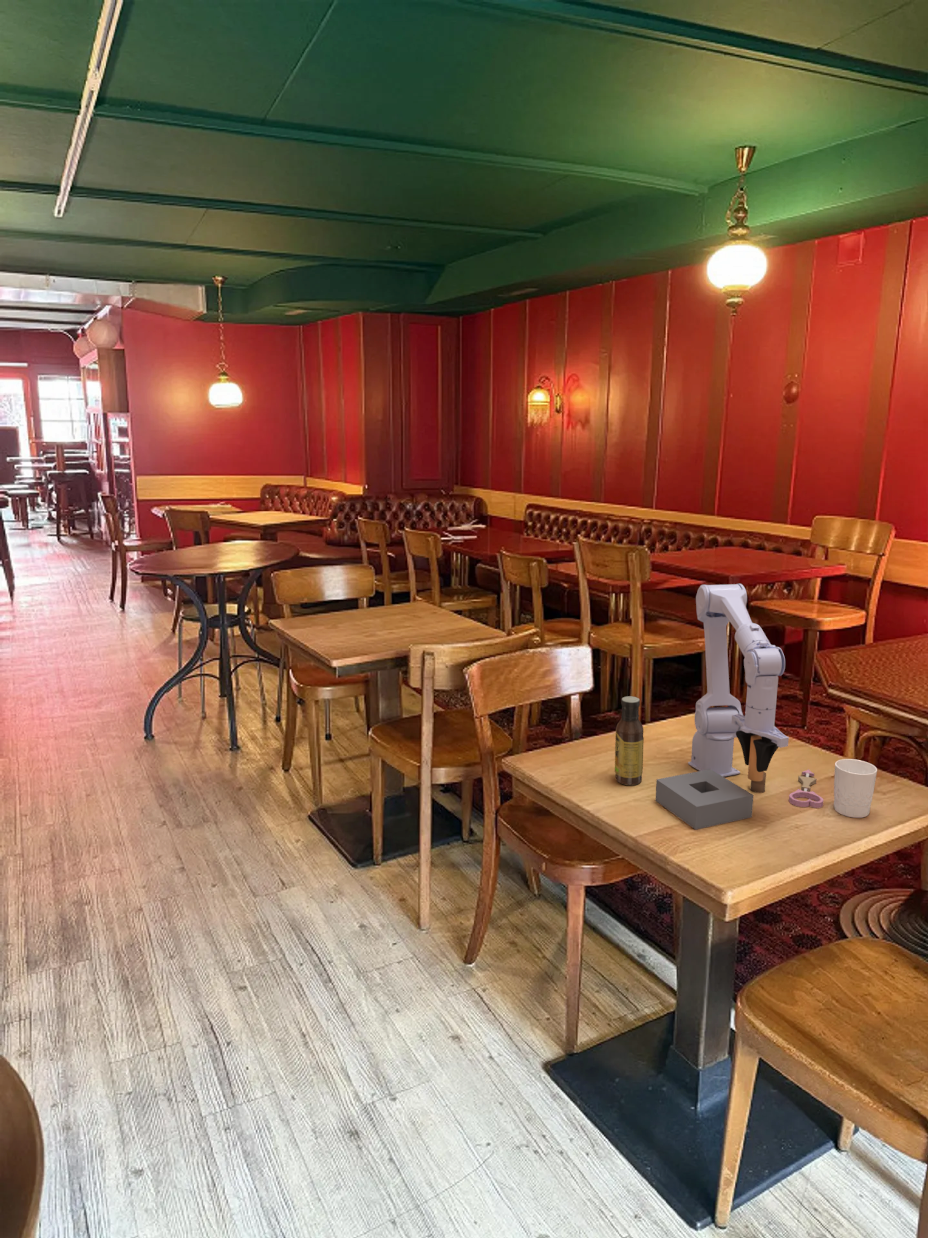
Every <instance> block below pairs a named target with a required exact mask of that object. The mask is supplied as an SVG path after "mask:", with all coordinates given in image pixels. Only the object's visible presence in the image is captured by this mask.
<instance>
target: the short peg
mask: <svg viewBox="0 0 928 1238" xmlns="http://www.w3.org/2000/svg"><path fill="white" fill-rule="evenodd" d="M766 778H767V773H766V771H764V773H763V780H762V781H752V780H750V791H752V792H753V793H756V794H757V793H758V794H762V793H765V791H766V780H767V779H766Z"/></svg>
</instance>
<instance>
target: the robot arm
mask: <svg viewBox="0 0 928 1238" xmlns="http://www.w3.org/2000/svg"><path fill="white" fill-rule="evenodd" d="M747 603H748V594H747V590H746V588H745V586H744V585H743V584H742V583H736V584H735V583H733V584H732V583H731V584H701V585H700V586H699V587H698V589H697V593H696V595H695V604H696V605H695V606H696V607H695V608H696V617H697V620H698V621H700V622H701V623H703V630H704V644H705V645H704V650H705V667H706V670H705V671H706V686H707V688H706V689H707V690H706V691H707V692H706V694H704V695H702V696H701V698H699V699H698V700H697V701H696V703H695V713H694V726H695V729H696V731H695V733H694V734H693V737H692V739H691V740H692V741H691V755H690V758H691V759H690V761H688V762H687V765H689V766H690V767H692V768H694V769H695V770H697V771H703V770H708V769H711V770H713V771H714V772H716V773H718V774H719V775H721V776H723V777H724V778H726V777H729V776H734V775H735V776H736V775H739V774H741V771H740V770H738V768H737V769H736V768H735V767H733V759H734V757H733V756H734V746H735V745H734V744H735V743H734V742H735V738H737V739H738V742H739V745H740V747H741V751H742V755H743V760H744V764H745V766H749V755H750V742H751V736H753V735H759V736H761V737H762V739H757V740H753V743H754V746H755V749H756V757H757V759H756V767H757V771H758V772H763V771H764V772H767V771H768V769H769V767H770V763H771V761H772V758H773V757H774V754H775V753H776V752H777V750H778V748H785V747H789V740H790V737H789V736H787V735H785V734H784V733H783V732H782V731H780V730H779V728H777V727H776V726H775V721H776V708H777V695H778V687H779V685H778V684H779V677H781V676H782V675H783V674H784V672H785V671H786V670H785V669H786V658H785V655H784V652H783V650H782V648H781V647H779V646H776V645H775V644H771V642H770V640H769V639H768V637H767V636H766V633H765V632H764V631H763V629H762V627H761V626H760V625H759V624H757V623H754V622H753V621H752V619H751V617H750V614H749V611H748V609H747ZM729 623H730V624H731V625H732V627H733V628H734V630H735V634H734V641H735V642H736V644H737V646H738V648H739V650H740V651H741V653H742V655H743V657H744V659H743V666H744V667H743V668H744V672H745V674H744V676H745V677H744V679H745V683H746V686H747V688H746V699H745V700H746V702H745V714H744V713H743V710H742V705H741V702H740V700H739V699H738V698H737V697H735V696H734V695H732V694H731V693H730V679H729V678H730V676H729V675H730V674H729V657H728V654H729V653H728V640H727V639H728V638H727V635H728V634H727V625H728V624H729ZM713 706H714V707H713ZM717 706H718V707H717Z"/></svg>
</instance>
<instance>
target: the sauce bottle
mask: <svg viewBox="0 0 928 1238" xmlns="http://www.w3.org/2000/svg"><path fill="white" fill-rule="evenodd" d="M640 701H641V700H640V698H639V697H636V696H631V695H629V696H628V695H627V696H624V697H622V698H621V703H620V705H621V718H620V720H619V721H618V723H617V724H616V727H615V741H614V742H615V743H614V744H615V746H614V773H615V775H614V777H615V780H616V782H617V783H619V784H621V785H624V786H637V785H639V784H640V783H641V782H642V780H643V769H644V738H645V737H644V726H643V724H642V722H641V721H640V715H639V712H640V710H639V709H640V705H641V702H640Z"/></svg>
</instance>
